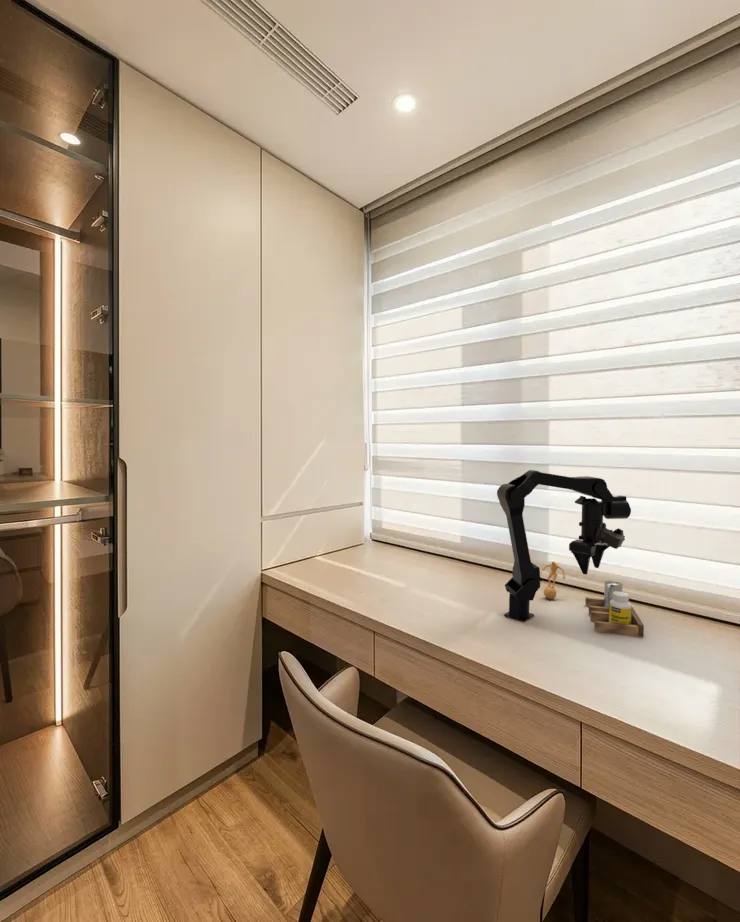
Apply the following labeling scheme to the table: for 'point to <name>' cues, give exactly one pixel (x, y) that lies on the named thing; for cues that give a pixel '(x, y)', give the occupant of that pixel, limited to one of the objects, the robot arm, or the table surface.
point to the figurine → (550, 591)
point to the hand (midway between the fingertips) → (590, 570)
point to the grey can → (611, 591)
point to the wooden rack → (603, 624)
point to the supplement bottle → (620, 608)
